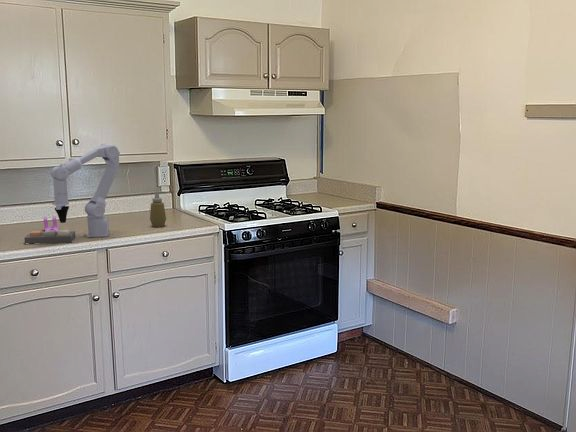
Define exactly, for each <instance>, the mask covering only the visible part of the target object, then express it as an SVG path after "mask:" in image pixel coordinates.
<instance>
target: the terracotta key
mask: <svg viewBox="0 0 576 432" xmlns="http://www.w3.org/2000/svg"><path fill="white" fill-rule="evenodd" d="M29 234H30V236H42V235H43V230H32V231H30V232H29Z"/></svg>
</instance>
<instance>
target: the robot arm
mask: <svg viewBox="0 0 576 432" xmlns="http://www.w3.org/2000/svg"><path fill="white" fill-rule="evenodd" d="M120 154H121V152H120V150H119V149H118V147H117V146H116V145H115V144H107V143H102V144H100V145H97V146H95V147H94V148H93V149H91V150H89V151H88V152H86V153H85V154H83V155H81V156H80V157H78V158H77V157H70V158H69V159H68V160H66V161H65V162H63V163H59V166H55V167H53V168H52V169H51V171H50V172H49V173H50V176H51V178H52V180H53V181H52V183H53V197H54V202H52V204H51V205H54V206H55V207H54V211H55V213H56V214H57V216H58V221H59V222H60V223H61V224H63V223H64V224H65V223H66V221H67V215H68V211H69V208H70V206H69V204H70V202H69V197H68V196H69V195H68V183H67V179H68V177H69V176H70V175H72V174H74V173H75V172H77V171H78V170H81V168H82V166H83V165H84V164H86V163H88V162H90V161H92V160H94V159H97V158H102V159H103V161H104V163H105V164H106V167H105V169H104V172H103V175H102V177H101V178H100V181H99V184H98V186H97V187H96V190H95V192H94V195H93V196H92V197H91V198H90V199H89V201H88V202H87V203H86V204H85V205H84V212H85V213H86V215H87V218H86V219H87V230H88V231H87V232H88V233H87V235H86V238H97V237H98V238H101V237H105V238H107V237H108V235H110V224H109V217H108V216H104V215H105V212H106V206H107V202H106V199H107V197H108V194H109V193H110V189H111V187H112V184H113V183H114V180H115V177H116V175H117V173H118V170H119V168H120Z"/></svg>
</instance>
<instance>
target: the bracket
mask: <svg viewBox="0 0 576 432" xmlns="http://www.w3.org/2000/svg"><path fill="white" fill-rule="evenodd" d="M57 221H58V220H57V216H56V215H52V226H48V225H49V224H48V223H49V221H48V217H47V216H44V217H43V227H44V228H43V229H44V232H45V231H46V230H56V232H58V231H59V230H60V229H58V224H57V223H58V222H57Z"/></svg>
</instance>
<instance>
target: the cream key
mask: <svg viewBox="0 0 576 432" xmlns="http://www.w3.org/2000/svg"><path fill="white" fill-rule="evenodd" d="M58 230H59V231H58V235H69V234H70V232H71V230H70V229H58Z"/></svg>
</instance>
